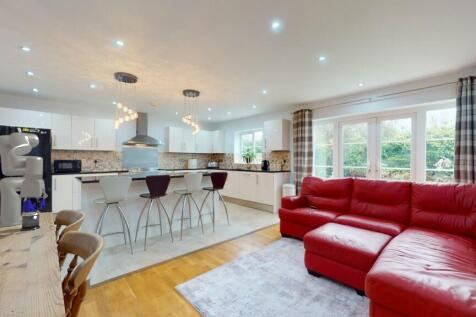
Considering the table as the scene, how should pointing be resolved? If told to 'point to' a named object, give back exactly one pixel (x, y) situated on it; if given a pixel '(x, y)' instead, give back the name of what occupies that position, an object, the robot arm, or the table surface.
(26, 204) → the cable clip
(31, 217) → the motor
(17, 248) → the table surface
